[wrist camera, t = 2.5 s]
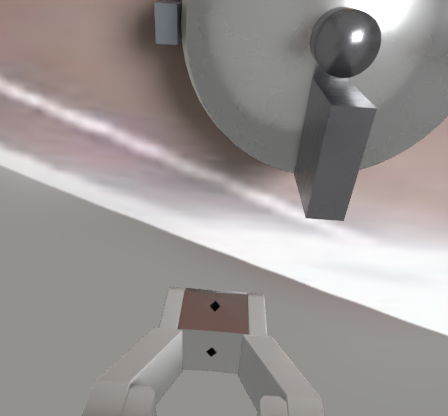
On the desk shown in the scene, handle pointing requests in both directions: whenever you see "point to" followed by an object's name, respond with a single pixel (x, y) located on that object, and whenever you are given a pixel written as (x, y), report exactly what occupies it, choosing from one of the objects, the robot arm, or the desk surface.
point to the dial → (321, 84)
